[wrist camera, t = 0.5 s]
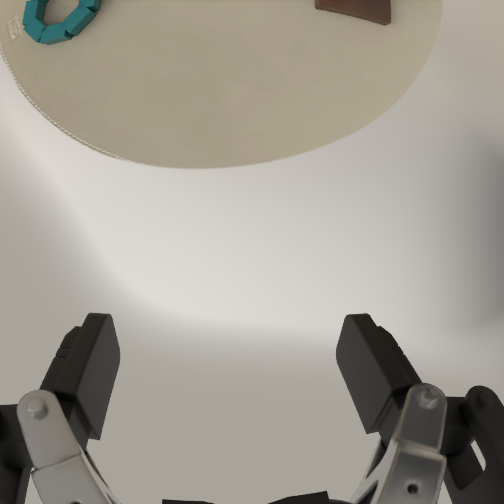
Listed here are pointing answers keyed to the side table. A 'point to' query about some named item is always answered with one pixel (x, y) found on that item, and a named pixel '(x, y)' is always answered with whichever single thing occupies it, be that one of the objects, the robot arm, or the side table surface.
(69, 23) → the ring
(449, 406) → the robot arm
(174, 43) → the side table surface
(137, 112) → the side table surface
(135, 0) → the side table surface
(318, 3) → the peg stand
